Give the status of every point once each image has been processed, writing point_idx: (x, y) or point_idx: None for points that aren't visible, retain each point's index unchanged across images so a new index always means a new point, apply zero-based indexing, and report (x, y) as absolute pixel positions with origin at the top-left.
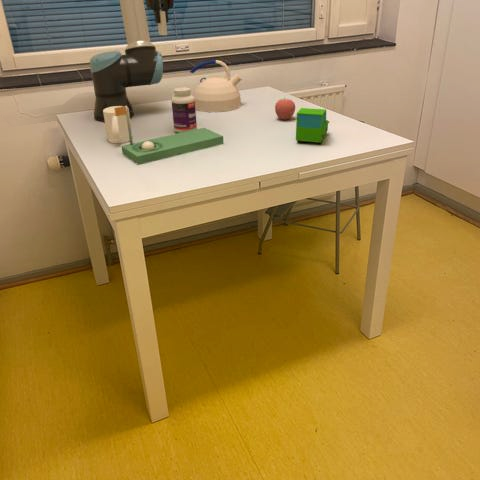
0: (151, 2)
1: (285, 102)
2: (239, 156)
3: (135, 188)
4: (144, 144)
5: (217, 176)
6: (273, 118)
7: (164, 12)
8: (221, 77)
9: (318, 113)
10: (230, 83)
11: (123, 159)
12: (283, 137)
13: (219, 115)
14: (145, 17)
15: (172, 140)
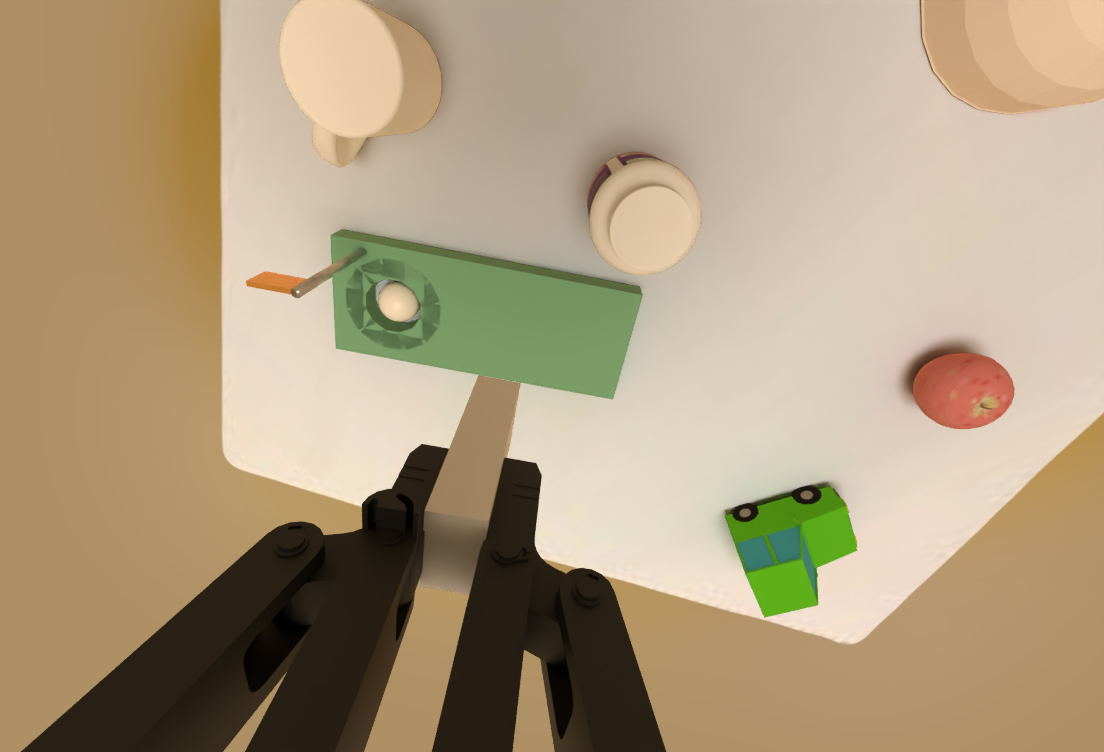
0: (260, 669)
1: (956, 419)
2: (566, 471)
3: (288, 438)
4: (381, 309)
5: None
6: (928, 338)
7: (471, 583)
8: None
9: (770, 607)
10: None
11: None
12: (750, 466)
13: (885, 134)
14: None
15: (482, 318)
